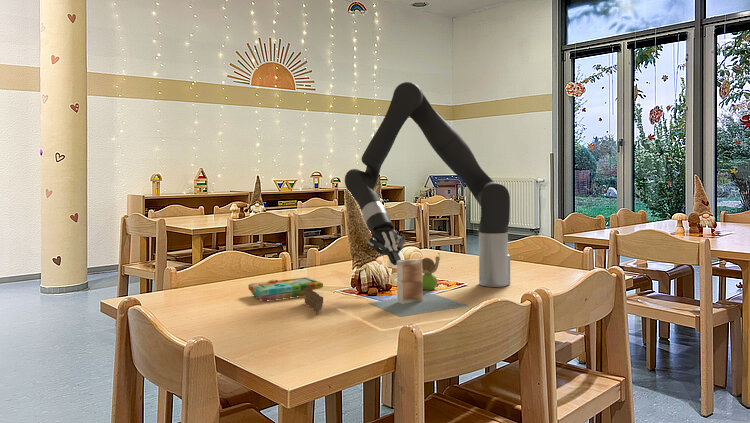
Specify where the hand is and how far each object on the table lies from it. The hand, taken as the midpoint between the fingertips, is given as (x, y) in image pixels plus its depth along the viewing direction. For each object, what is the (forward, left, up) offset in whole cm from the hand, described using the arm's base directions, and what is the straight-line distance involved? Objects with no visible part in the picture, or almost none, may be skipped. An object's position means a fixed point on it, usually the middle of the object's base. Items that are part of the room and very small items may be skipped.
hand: (397, 263), depth 171 cm
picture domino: (0, +7, -10) cm, 12 cm away
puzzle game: (+27, -23, -11) cm, 37 cm away
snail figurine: (-14, -4, -11) cm, 18 cm away
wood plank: (+27, -2, -11) cm, 29 cm away
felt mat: (0, +11, -10) cm, 15 cm away
